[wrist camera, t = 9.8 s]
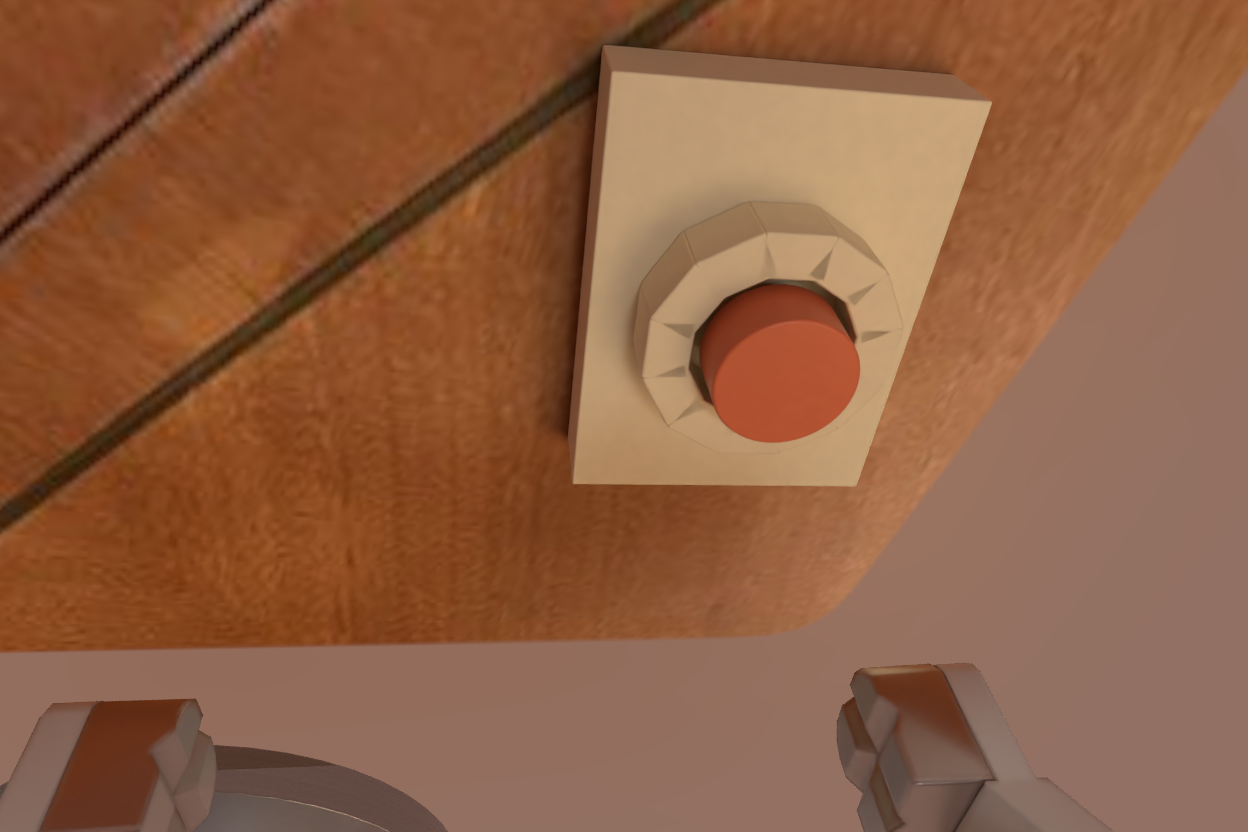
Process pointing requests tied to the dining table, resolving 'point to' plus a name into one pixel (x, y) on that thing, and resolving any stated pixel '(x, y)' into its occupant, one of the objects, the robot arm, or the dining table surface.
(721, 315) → the button
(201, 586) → the dining table surface
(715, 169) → the button box
